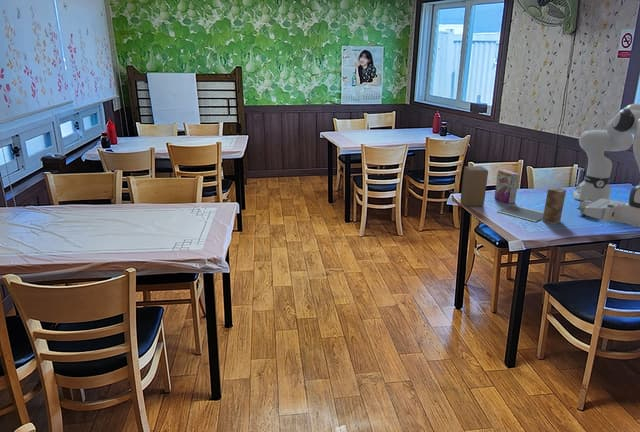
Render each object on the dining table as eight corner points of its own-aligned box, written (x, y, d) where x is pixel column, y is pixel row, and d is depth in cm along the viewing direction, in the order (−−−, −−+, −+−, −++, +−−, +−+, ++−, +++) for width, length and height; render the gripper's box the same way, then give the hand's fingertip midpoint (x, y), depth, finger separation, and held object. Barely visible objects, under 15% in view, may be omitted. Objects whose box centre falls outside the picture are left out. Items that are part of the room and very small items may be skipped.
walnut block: (560, 221, 221) (566, 189, 216) (554, 224, 218) (561, 192, 212) (547, 218, 226) (553, 187, 220) (542, 220, 222) (548, 189, 217)
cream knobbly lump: (588, 222, 230) (602, 211, 222) (572, 216, 231) (585, 204, 222) (588, 210, 235) (602, 198, 227) (573, 203, 236) (585, 192, 228)
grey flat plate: (550, 215, 229) (550, 214, 229) (535, 222, 220) (535, 221, 219) (512, 205, 244) (512, 204, 243) (496, 212, 234) (497, 211, 234)
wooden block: (477, 201, 251) (482, 165, 244) (484, 206, 242) (489, 170, 235) (459, 201, 251) (463, 165, 244) (465, 206, 241) (470, 170, 235)
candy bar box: (493, 198, 256) (497, 169, 251) (500, 197, 258) (504, 169, 252) (508, 204, 246) (512, 174, 241) (515, 203, 248) (519, 173, 243)
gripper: (624, 199, 205) (591, 192, 215) (608, 208, 192) (573, 201, 202) (621, 212, 207) (588, 205, 217) (605, 222, 194) (571, 214, 204)
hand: (581, 203), depth 209 cm, fingers closed
